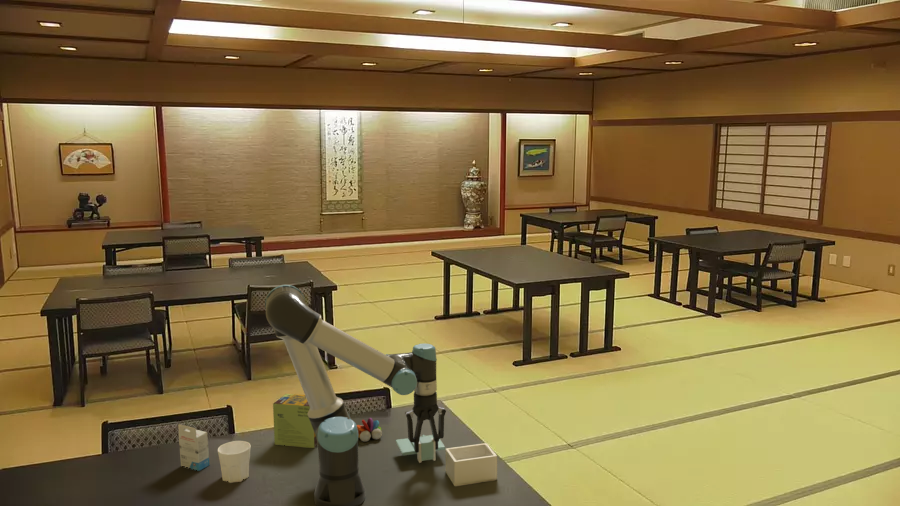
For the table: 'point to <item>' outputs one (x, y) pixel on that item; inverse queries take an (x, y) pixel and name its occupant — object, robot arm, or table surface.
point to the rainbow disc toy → (369, 430)
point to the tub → (471, 464)
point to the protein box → (293, 422)
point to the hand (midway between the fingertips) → (426, 459)
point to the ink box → (193, 448)
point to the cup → (234, 460)
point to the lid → (426, 447)
